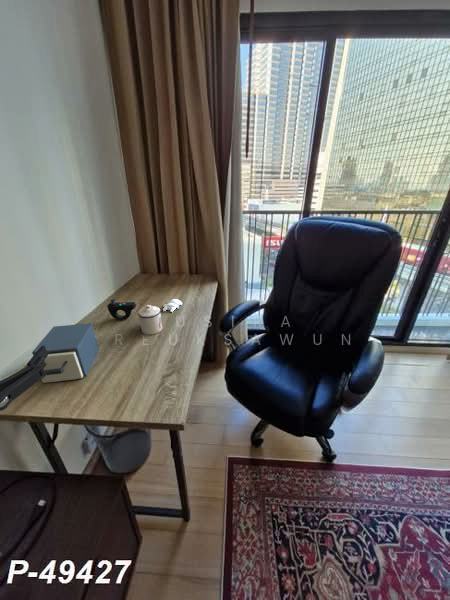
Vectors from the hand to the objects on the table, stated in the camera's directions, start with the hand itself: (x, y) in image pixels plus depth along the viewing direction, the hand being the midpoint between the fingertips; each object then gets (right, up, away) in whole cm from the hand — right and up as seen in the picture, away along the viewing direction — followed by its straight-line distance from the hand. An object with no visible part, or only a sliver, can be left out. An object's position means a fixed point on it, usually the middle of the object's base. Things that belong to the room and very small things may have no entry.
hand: (13, 353), depth 59 cm
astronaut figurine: (+23, +9, +67) cm, 72 cm away
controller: (+3, +4, +57) cm, 58 cm away
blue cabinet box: (-3, -10, +29) cm, 31 cm away
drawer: (-3, -11, +25) cm, 27 cm away
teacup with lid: (+18, 0, +50) cm, 53 cm away
